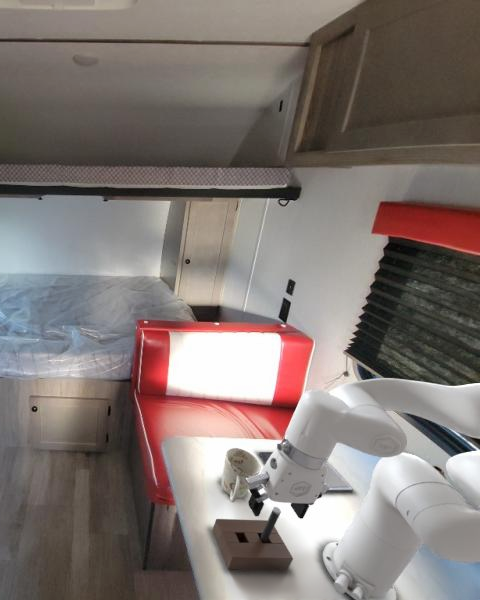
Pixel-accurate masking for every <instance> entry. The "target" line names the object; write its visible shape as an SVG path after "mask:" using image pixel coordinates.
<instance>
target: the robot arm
mask: <svg viewBox="0 0 480 600" xmlns="http://www.w3.org/2000/svg"><path fill="white" fill-rule="evenodd" d="M388 412H397V413H405V414H409V415H412V416H415V417H419V418H422V419H425V420H427V421H430V422H432V423H434V424H437V425H439V426H441V427H444V428H446V429H448V430H451V431H453V432H456V433H459V434H461V435H464V436H466V437H467V436H468V437H469V438H474V439H477V440H478V439H479V440H480V382H479V383H469V384H463V385H444V384H438V383H432V382H425V381H419V380H418V381H417V380H410V379H403V378H395V377H392V378H391V377H380V378H369V379H363V380H356V381H351V382H347V383H342V384H340V385H337V386H336V387H334V388H332V389H331V390H330V391H329V392H328V391H324V390H321V389H308V390H305V391H304V392H303V393H302V395H301V396H300V398H299V400H298V403H297V406H296V408H295V410H294V412H293V414H292V415H291V419H290V421H289V424H288V426H287V428H286V430H285V432H284V435H283V437H282V439H281V442H278V443H277V444H276V448H275V449H274V450H273V451H272V452H273V453H272V454H271V456H270V457H269V459H268V461H267V462H266V463H265V464H264V466H263V468H262V470H261V471H260V473H259V474H258V475H255V476H252V477H248V478H246V483H247V487H248V491H249V493H250V494H251V495H250V497H249V499H248V501H247V503H248V507H249V509H250V510H251V512H252V513H253V515H254V517H258V518H259V516H260V515H261V513H262V510H263V508H264V506H265V501H266V500H267V499H269V500H270V501H273V502H276V503H285V504H287V503H288V504H290V507H291V509H292V510H293V512H294V513H295V515H296V516H297V518H298V519H301V520H303V519H304V518H305V516H306V514H307V512H308V510H309V508H310V506H313V505H315V502H316V501H317V500H319V499H321V498H322V497H323V495H324V494H325V493H326V491H328V490H329V487H328V485H327V484H326V483H325V482H324V481H325V478H326V475H327V468H328V464H327V462H328V460H329V459H330V456H331V454H332V453H333V451H334V449H335V447H336V445H337V443H338V444H340V445H341V444H342V445H343V446H346V447H349V448H351V449H354V450H356V451H359V452H361V453H363V454H365V455H366V454H367V455H369V456H373V457H377V458H380V459H379V460H378V462H377V463H376V465H375V466H374V469H373V471H372V476H371V480H370V485H369V489H368V491H367V493H366V496H365V497H364V499H363V501H362V503H361V505H360V506H359V508H358V509H357V511H356V513H355V514H354V516H353V518H352V520H351V521H350V523H349V525H348V526H347V529H346V530H345V532H344V534H343V535H342V537H341V539H340V541H332V542H329V543H327V544H326V546H325V547H324V548H323V551H322V560H323V563H324V566H325V568H326V570H327V572H328V573H329V575H330V577H331V578H332V580H334V582H333V588H334V589H335V590H336V591H337V592H338V593H340V594H345V593H346V594H348V596H349V597H350V598H352V599H353V600H397V598H398V597H397V591H396V587H395V583H396V581H397V580H398V579H399V577H400V576H401V575H402V573H403V572H404V571H405V569H406V568H407V566H409V563H411V561H412V559H414V557H415V556H416V555H417V553H418V551H419V550H420V549H421V548H422V546H423V545H424V546H425V547H426V548H427V549H428V550H429V552H432V553H433V554H434V555H435V556H437V557H439V558H442V559H443V560H447V561H451V562H454V563H455V562H456V563H480V449H479V450H472V451H467V452H461V453H458V454H455V455H453V456H451V457H450V458H449V459H447V461H446V464H445V468H446V473H447V474H448V476H449V478H450V479H451V480H452V482H453V483H454V484H455V486H456V487H457V488H458V489H459V490H460V491H461V492H462V493H463V494H464V495H465V497H467V498H468V500H470V502H471V503H473V505H475V506H476V507H477V510H476V509H475V508H474V507H473V506H472V505H471V504H470V503H469V502H468V501H467V500H466V499H465V498H464V497H463V495H461V494H460V492H459V491H458V490H457V489H456V488H455V487H454V486H453V485H452V484H451V483H450V482H449V481H448V479H447V478H446V479H447V480H446V479H445V478H444V477H443V476H442V475H441V474H440V473H439V472H438V471H437V470H436V469H435V468H434V467H432V466H433V465H431V463H429V462H428V461H426V460H424V459H423V458H421V457H420V456H417V455H414V454H411V453H408V452H405V451H406V449H407V446H408V437H407V435H406V433H405V431H404V430H403V428H402V427H401V426H400V424H399V423H398V422H397V421H396V420H395V419H394V418H393V417H392V416H391V415H390V414H389V413H388ZM260 490H264V492H262V493H260V492H259V491H260Z"/></svg>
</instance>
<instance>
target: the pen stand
mask: <svg viewBox="0 0 480 600" xmlns="http://www.w3.org/2000/svg"><path fill="white" fill-rule="evenodd" d="M267 521H268V519H267V520H266V519H234V518H233V519H232V518H216V519H215V522H214V524H213V527H212V529H211V530H212V533H213V536H214V538H215V541H216V544H217V546H218V548H219V551H220V554H221V556H222V559H223V561H224V563H225V566H226V568H227V570H252V571H253V570H256V571H288V570H289V568H290V566H291V564H292V562H293V560H294V557H293V556H292V553H291V552H290V550H289V549H288V547H287V545H286V544H285V542H284V540H283V538H282V536H281V534H280V533H279V531H278V530H277V528H276V525H275V526H274V528H273V530H272V532H271V534H270V537H269V539H268V541H267V543H262V542H261V540H260V537H261V535H262V532H263V530H264V528H265V526H266V523H267Z"/></svg>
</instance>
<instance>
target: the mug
mask: <svg viewBox="0 0 480 600" xmlns="http://www.w3.org/2000/svg"><path fill="white" fill-rule="evenodd" d="M222 469H223V470H222V471H223V472H222V477H221V487H222V489H223V490H224V492H225V493H226V494H227V495H228V496H229V501H230V502H231V503H234V502H235V501H236V499H242V498H243V497H244V496H246V494H247V492H248V491H249V489H248V487H247V483H246V478H248V477H252V476H255V475H259V474H260V473H261V471H262V470H261V469H262V468H261V463H260V461H259V460H258V458H256V456H254V455H253V454H252V453H251V452H249V451H247V450H244V449H242V448H237V447H232V448H229V449H228V450H227V451H226V453H225V457H224V463H223V468H222Z"/></svg>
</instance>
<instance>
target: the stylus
mask: <svg viewBox="0 0 480 600" xmlns="http://www.w3.org/2000/svg"><path fill="white" fill-rule="evenodd" d="M281 513H282V510H281V509H280V508H279V507H278V506H273V507H272V511H271V513H270V515H269V517H268V519H267V520H268V521H267V523H266V526H265V528H264V530H263V532H262V535H261V537H260V540H261V542H262V543H267V541H268V539H269V537H270V534H271V532H272V530H273V528H274V526H275V527H276V523H277V521H278V519H279V518H280V515H281Z"/></svg>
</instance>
